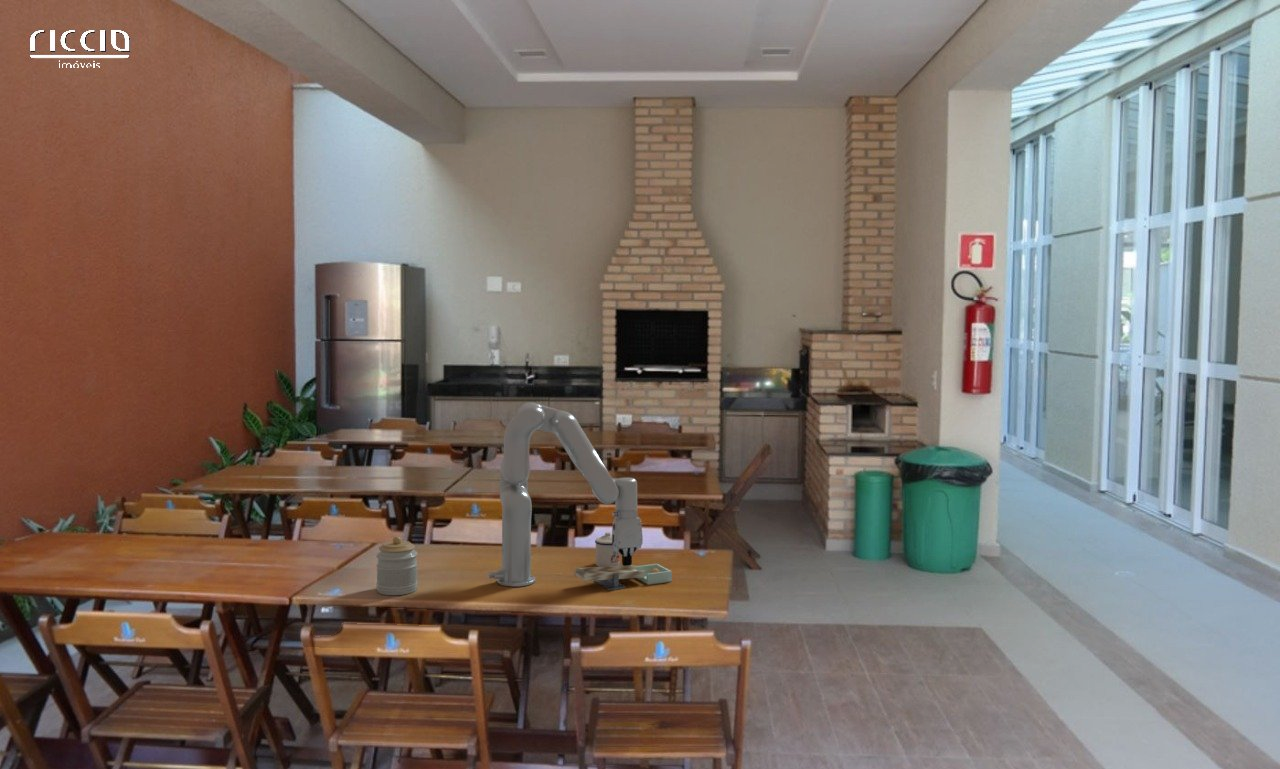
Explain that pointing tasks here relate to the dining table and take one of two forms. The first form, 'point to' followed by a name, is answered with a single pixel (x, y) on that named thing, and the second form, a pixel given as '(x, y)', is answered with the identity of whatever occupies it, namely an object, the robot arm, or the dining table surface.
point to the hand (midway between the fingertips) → (626, 566)
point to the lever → (608, 572)
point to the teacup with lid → (606, 552)
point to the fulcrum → (611, 583)
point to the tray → (655, 574)
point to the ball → (654, 570)
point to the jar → (397, 568)
